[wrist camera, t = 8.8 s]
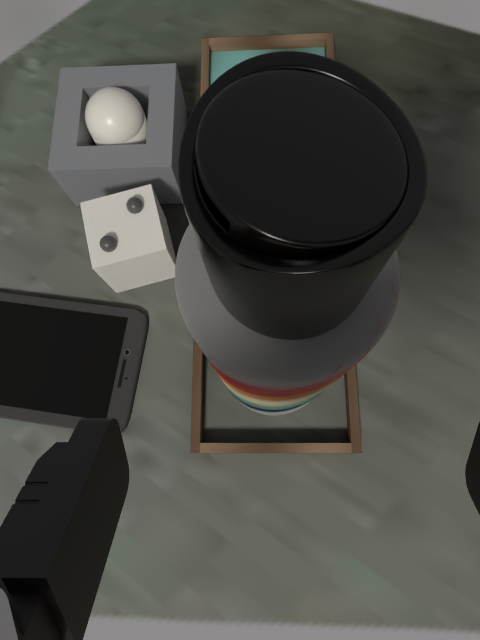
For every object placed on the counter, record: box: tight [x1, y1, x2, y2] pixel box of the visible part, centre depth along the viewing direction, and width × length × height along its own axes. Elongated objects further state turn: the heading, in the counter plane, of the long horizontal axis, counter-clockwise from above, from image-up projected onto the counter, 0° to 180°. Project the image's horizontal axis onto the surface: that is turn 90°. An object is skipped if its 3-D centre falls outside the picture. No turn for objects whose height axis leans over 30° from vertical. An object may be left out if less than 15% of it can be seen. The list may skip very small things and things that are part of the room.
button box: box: [48, 63, 187, 206], centre depth 28 cm, size 7×7×4 cm
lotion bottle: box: [175, 51, 427, 416], centre depth 16 cm, size 6×6×20 cm
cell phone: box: [0, 292, 149, 432], centre depth 26 cm, size 7×14×1 cm, turn 82°
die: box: [80, 184, 176, 293], centre depth 25 cm, size 4×4×5 cm
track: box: [190, 33, 362, 453], centre depth 27 cm, size 9×28×1 cm, turn 0°
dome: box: [85, 87, 147, 146], centre depth 27 cm, size 3×3×5 cm
